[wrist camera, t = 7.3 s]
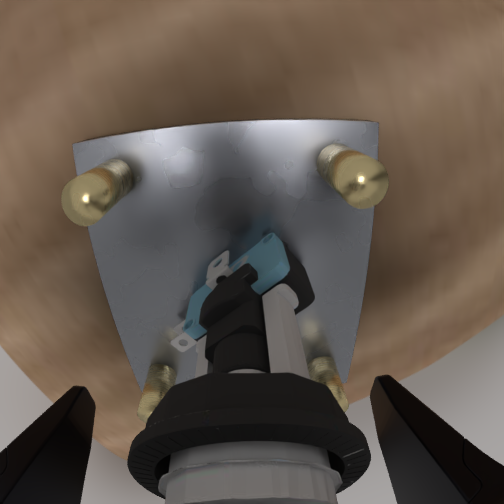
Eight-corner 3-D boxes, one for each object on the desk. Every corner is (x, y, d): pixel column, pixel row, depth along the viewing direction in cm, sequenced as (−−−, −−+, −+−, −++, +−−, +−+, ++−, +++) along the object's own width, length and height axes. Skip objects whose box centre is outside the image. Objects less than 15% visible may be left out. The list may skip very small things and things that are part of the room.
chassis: (368, 120, 12) (416, 130, 8) (342, 370, 18) (359, 422, 14) (82, 140, 12) (31, 158, 8) (145, 380, 18) (131, 432, 14)
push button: (218, 356, 16) (209, 551, 7) (136, 288, 14) (56, 499, 5) (328, 282, 14) (412, 498, 5) (250, 191, 12) (280, 442, 3)
